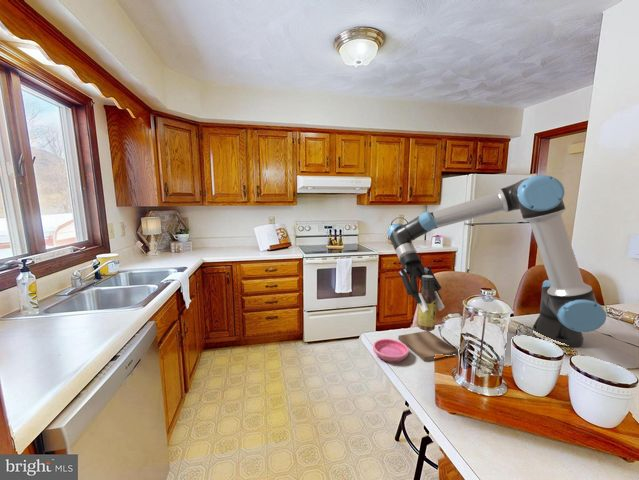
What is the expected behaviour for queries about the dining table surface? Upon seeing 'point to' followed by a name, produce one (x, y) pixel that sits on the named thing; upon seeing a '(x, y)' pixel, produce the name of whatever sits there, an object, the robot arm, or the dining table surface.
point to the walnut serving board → (426, 345)
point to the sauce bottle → (429, 317)
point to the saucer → (390, 350)
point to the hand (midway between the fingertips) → (433, 310)
